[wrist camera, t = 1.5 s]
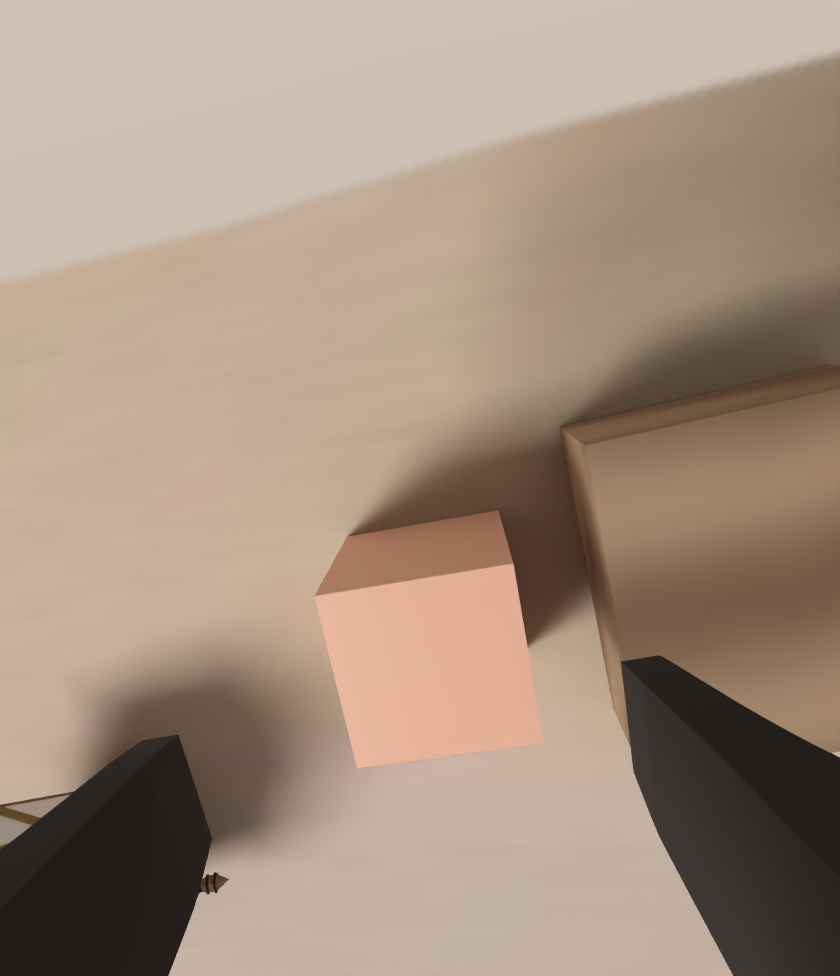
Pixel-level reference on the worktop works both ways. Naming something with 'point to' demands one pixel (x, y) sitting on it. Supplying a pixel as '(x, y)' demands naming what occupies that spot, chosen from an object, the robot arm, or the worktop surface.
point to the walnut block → (721, 543)
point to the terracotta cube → (429, 642)
